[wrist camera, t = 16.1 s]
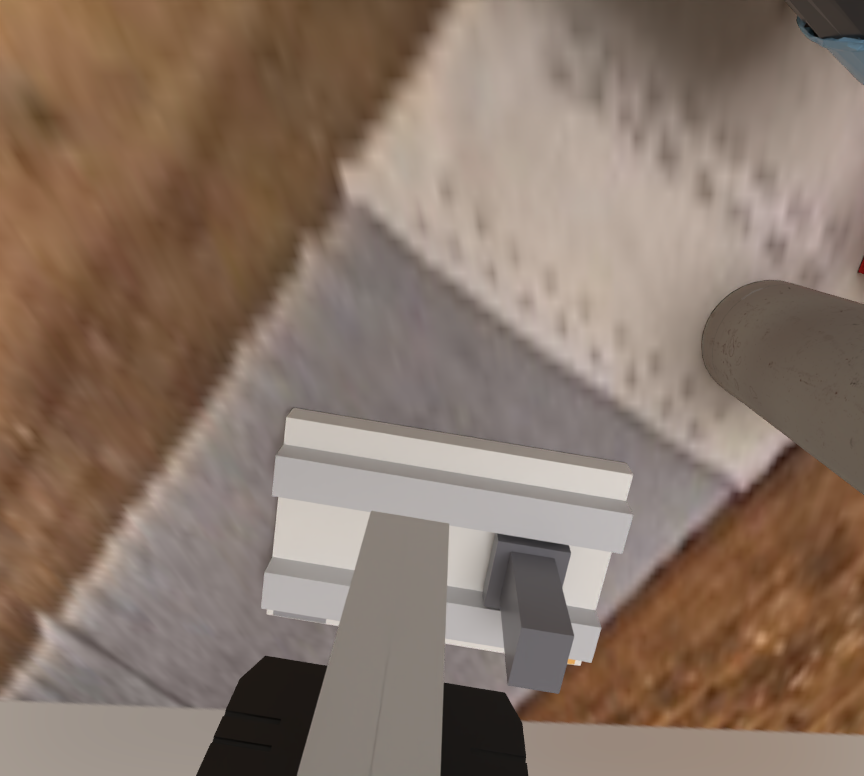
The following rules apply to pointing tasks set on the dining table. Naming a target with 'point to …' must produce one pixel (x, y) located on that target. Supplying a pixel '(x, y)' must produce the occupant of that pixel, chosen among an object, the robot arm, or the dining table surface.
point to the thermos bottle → (795, 367)
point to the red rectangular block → (862, 268)
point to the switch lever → (531, 609)
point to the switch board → (443, 453)
